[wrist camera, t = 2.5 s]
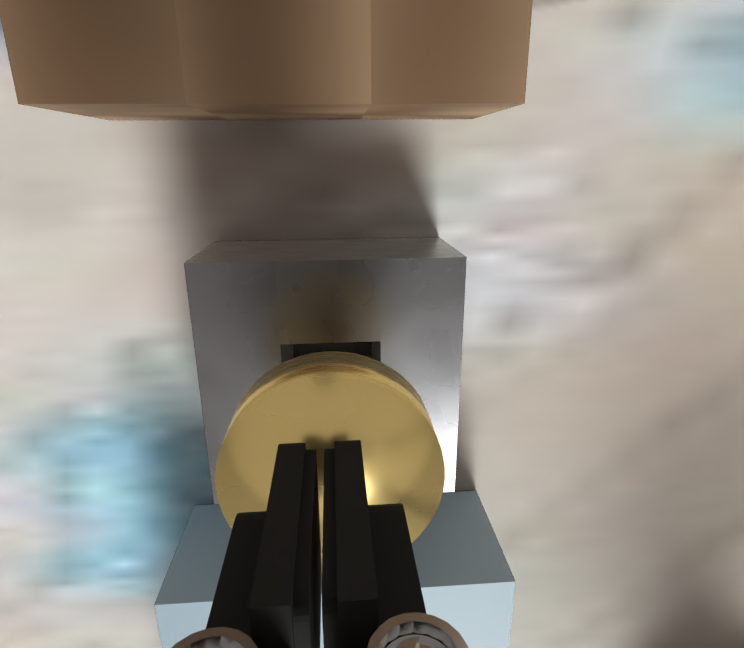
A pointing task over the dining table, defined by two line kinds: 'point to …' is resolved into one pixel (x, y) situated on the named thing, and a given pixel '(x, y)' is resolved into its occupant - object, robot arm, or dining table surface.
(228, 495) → the gold short rounded piece
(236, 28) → the socket block
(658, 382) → the dining table surface
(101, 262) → the dining table surface
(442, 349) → the housing
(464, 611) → the block
